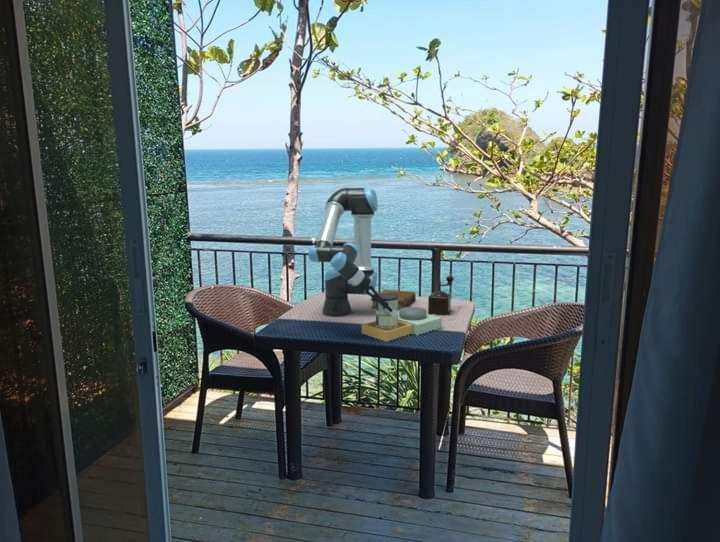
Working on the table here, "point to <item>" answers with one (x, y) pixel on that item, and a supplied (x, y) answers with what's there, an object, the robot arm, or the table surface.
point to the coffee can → (384, 316)
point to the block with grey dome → (419, 319)
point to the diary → (399, 298)
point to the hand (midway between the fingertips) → (393, 312)
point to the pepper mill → (440, 300)
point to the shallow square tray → (386, 331)
